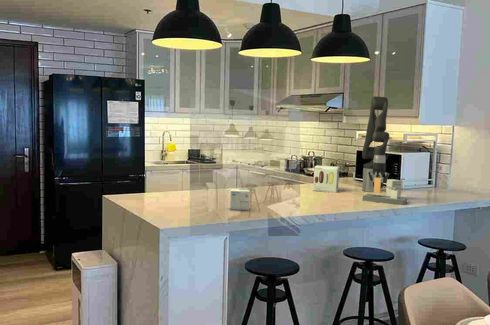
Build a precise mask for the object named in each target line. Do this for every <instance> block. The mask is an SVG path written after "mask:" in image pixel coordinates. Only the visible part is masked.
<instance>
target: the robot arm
mask: <svg viewBox="0 0 490 325" xmlns="http://www.w3.org/2000/svg"><path fill="white" fill-rule="evenodd" d="M388 105H389V99H388V98H387V97H385V96H377V95H375V96H372V99H371V101H370V108H369V117H368V123H367V127H366V131H365V132H366V133H365V139H364V143H363V148H362V153H361V157H362V159H364V160H371V161H369V162H367V163H364V164H363V170H362V186H361V187H362V189H361V191H362V192H366V193H374V180H375V178H376V177H379V178H381V188H382V189H383V188H384V184H385V183H387V179H388V178H389V176H390V173H389V172H386V153H387V151H386V150H387V146H388V142H389V140H390V134H389V132H388V131H387V115H388V107H389V106H388ZM376 110H377V111H381V113H380V114H378V116H377V114H376ZM373 142H375V143H382V144H381V145H376V146H371V144H372V143H373ZM384 176H385V178H384Z"/></svg>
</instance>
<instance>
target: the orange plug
mask: <svg viewBox="0 0 490 325" xmlns="http://www.w3.org/2000/svg"><path fill="white" fill-rule="evenodd" d="M382 189H383V188H381V178H379V177H376V178H375V180H374V192H373V194H381V193H382V192H383V191H382Z"/></svg>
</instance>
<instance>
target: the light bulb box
mask: <svg viewBox="0 0 490 325" xmlns="http://www.w3.org/2000/svg"><path fill="white" fill-rule="evenodd" d="M229 203H230V204H229V205H230V206H229V207H230V210H239V211H240V210H242V211H244V210H245V211H246V210H247V211H249V210H250V189H234V188H233V189H230V202H229Z"/></svg>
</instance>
